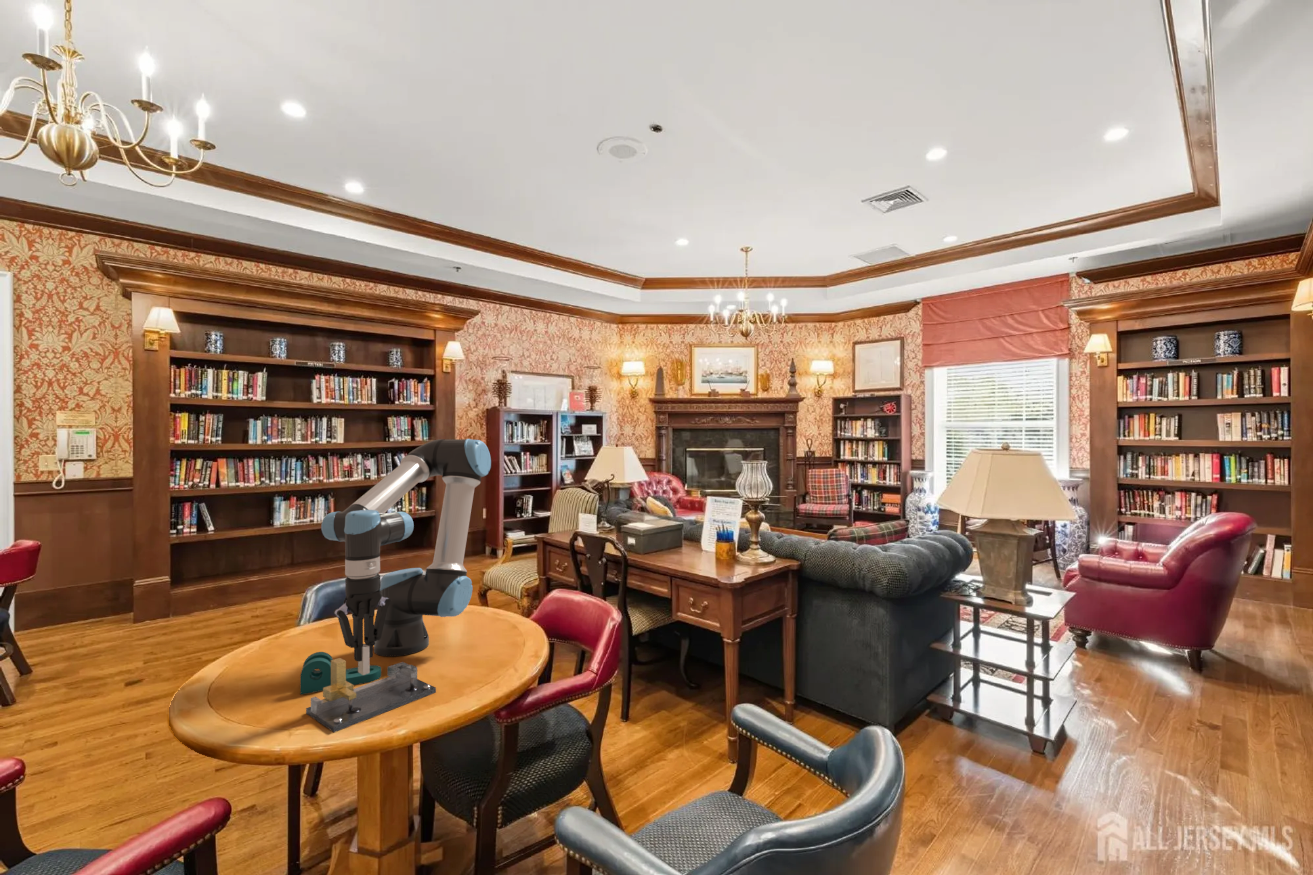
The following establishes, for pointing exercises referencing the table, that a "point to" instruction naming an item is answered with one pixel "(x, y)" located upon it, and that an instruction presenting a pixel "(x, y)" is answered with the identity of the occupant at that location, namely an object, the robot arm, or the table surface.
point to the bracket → (322, 678)
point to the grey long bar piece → (371, 687)
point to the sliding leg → (339, 683)
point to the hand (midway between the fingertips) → (363, 672)
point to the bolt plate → (372, 705)
